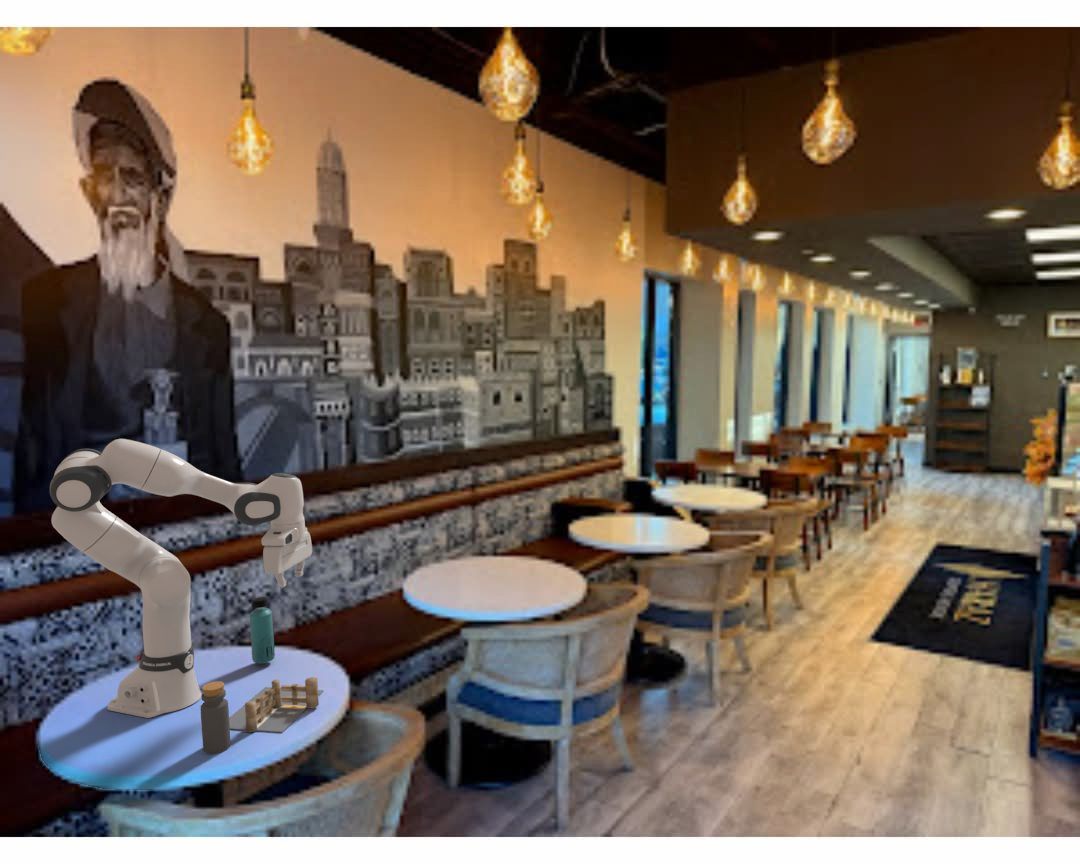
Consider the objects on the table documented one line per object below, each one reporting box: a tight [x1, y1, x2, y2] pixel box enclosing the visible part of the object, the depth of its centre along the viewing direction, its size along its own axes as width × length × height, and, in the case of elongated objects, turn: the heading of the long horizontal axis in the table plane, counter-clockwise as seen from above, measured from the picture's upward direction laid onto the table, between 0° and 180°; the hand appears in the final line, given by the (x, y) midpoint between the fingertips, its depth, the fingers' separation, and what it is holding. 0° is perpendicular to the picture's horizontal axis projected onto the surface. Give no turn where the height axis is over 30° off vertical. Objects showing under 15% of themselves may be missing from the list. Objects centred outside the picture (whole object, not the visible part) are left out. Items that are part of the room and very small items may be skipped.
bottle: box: [200, 681, 231, 755], centre depth 165 cm, size 6×6×15 cm
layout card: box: [229, 686, 324, 734], centre depth 184 cm, size 17×22×1 cm
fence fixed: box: [244, 679, 281, 733], centre depth 179 cm, size 2×14×7 cm, turn 171°
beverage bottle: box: [249, 596, 276, 664], centre depth 212 cm, size 6×7×20 cm
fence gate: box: [280, 676, 320, 709], centre depth 184 cm, size 3×10×7 cm, turn 85°
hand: (290, 581), depth 196 cm, fingers open, 8 cm apart
